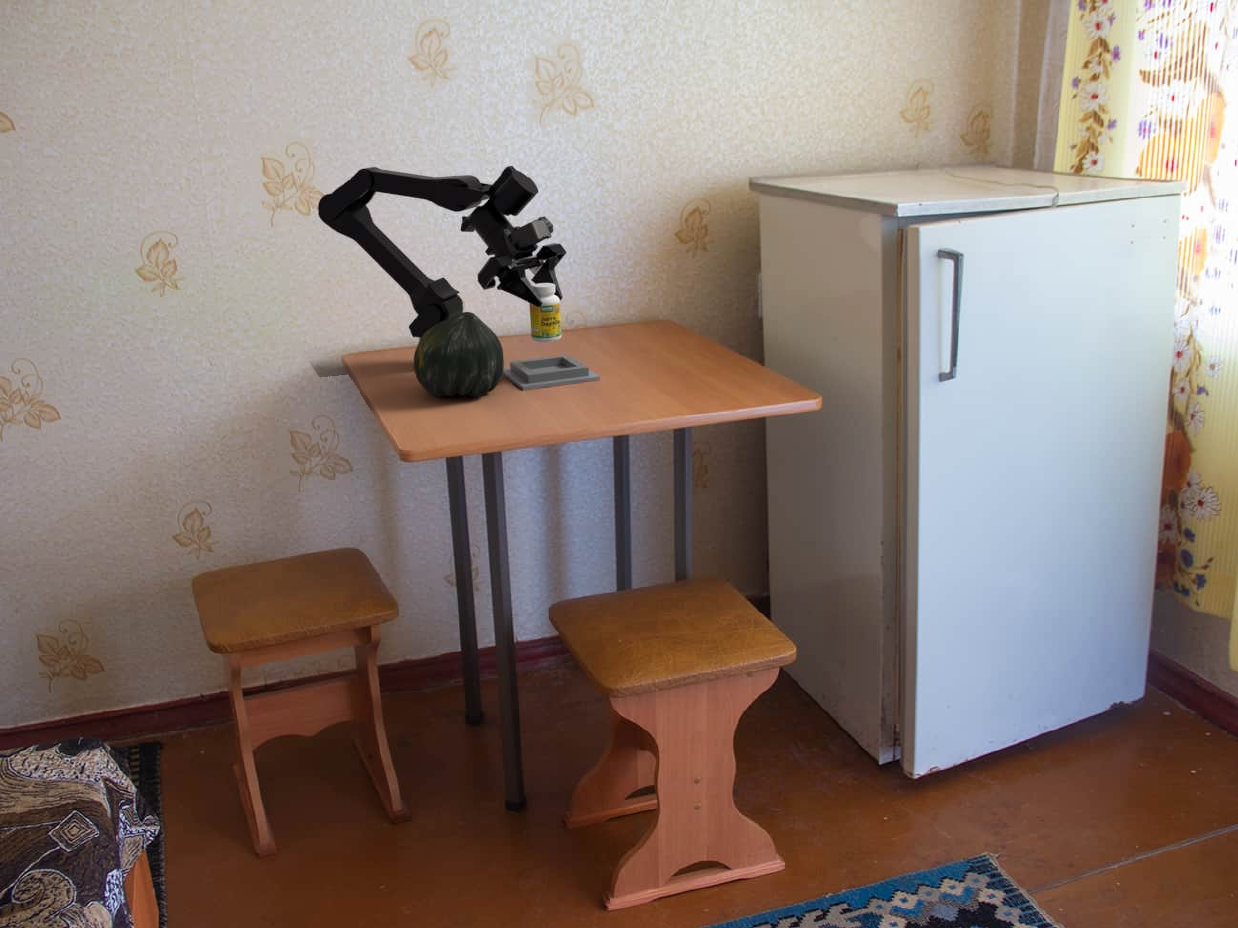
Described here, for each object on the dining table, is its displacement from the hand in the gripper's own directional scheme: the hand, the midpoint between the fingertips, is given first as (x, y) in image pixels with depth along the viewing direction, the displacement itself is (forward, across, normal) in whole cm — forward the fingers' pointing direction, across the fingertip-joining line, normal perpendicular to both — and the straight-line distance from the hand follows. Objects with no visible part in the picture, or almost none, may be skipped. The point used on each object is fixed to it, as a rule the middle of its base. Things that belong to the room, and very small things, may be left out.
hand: (550, 302), depth 201 cm
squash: (+5, -16, +15) cm, 22 cm away
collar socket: (+9, 0, +10) cm, 13 cm away
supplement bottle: (+4, 0, +6) cm, 7 cm away
